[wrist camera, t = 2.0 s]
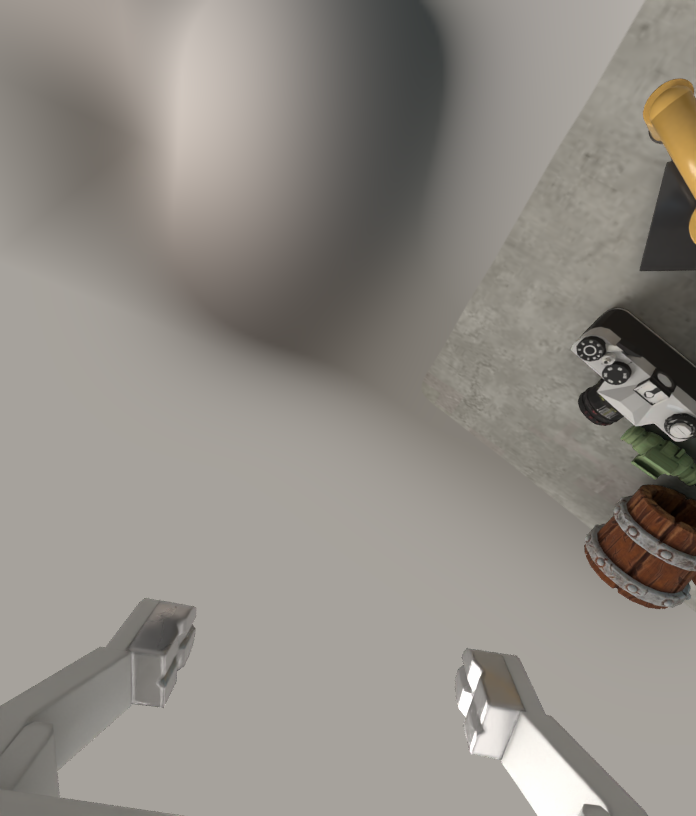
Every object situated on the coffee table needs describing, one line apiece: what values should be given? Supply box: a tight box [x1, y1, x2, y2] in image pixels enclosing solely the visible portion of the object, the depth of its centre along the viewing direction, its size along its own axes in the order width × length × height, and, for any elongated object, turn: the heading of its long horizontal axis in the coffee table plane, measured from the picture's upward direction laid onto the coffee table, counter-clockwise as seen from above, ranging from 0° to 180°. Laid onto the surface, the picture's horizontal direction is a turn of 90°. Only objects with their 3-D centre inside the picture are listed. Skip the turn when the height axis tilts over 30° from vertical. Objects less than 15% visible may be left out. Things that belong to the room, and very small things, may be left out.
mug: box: [584, 485, 696, 609], centre depth 44 cm, size 12×14×15 cm
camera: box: [570, 308, 696, 442], centre depth 41 cm, size 15×11×10 cm
